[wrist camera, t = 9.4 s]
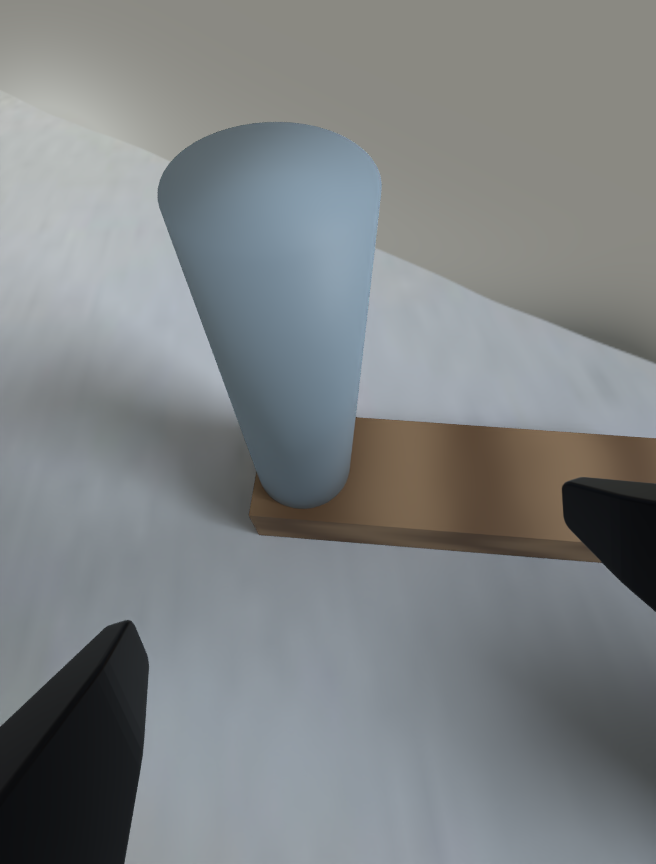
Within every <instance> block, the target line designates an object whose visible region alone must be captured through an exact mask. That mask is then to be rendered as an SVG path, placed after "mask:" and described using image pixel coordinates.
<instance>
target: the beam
mask: <svg viewBox="0 0 656 864" xmlns="http://www.w3.org/2000/svg"><path fill="white" fill-rule="evenodd" d="M579 477H590V478H601V479H612V480H623V481H634V482H645V483H655V484H656V438H642V437H628V436H614V435H600V434H585V433H571V432H557V431H543V430H528V429H514V428H500V427H486V426H471V425H457V424H443V423H428V422H414V421H400V420H386V419H371V418H357V417H356V418H355V427H354V435H353V444H352V453H351V462H350V471H349V475H348V479H347V481H346V483H345V485H344V487H343V488H342V490H341V491H340V492H339V493H338V494H337V495H336V497H334V498H333V499H332V500H330V501H329V502H327V503H325V504H323V505H321V506H318V507H314V508H308V509H297V508H291V507H288V506H285V505H282V504H280V503H278V502H277V501H275V500H274V499H273V498H272V497H270V496H269V495H268V493H267V492H266V491H265V490H264V488H263V486H262V484H261V482H260V480H259V477H258V474H257V471H256V477H255V483H254V488H253V494H252V500H251V506H250V512H249V517H250V519H251V521H252V522H253V524H254V526H255V528H256V530H257V532H258V534H259V535H267V536H279V537H292V538H304V539H316V540H328V541H341V542H353V543H365V544H378V545H390V546H402V547H414V548H427V549H439V550H451V551H463V552H476V553H488V554H500V555H512V556H525V557H537V558H549V559H562V560H574V561H586V562H598V563H602V562H601V561H600V560H599V559H598V558H597V557H596V556H595V555H594V554H593V553H592V552H591V551H590V550H589V549H588V548H587V547H586V546H585V545H584V544H583V543H582V542H581V541H580V539H579V538H578V537H577V536H576V535H575V534H574V533H573V532H572V531H571V530H570V529H569V528H568V527H567V525H566V523H565V521H564V517H563V504H562V486H563V484H564V483H565V482H567V481H570V480H573V479H576V478H579Z"/></svg>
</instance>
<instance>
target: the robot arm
mask: <svg viewBox="0 0 656 864" xmlns="http://www.w3.org/2000/svg"><path fill="white" fill-rule="evenodd" d="M562 504H563V517H564V521H565V523H566V525H567V527H568V528H569V529H570V530H571V531H572V532H573V533H574V534H575V535H576V536H577V537H578V538H579V539H580V541H581V542H582V543H583V544H584V545H585V546H586V547H587V548H588V549H589V550H590V551H591V552H592V553H593V554H594V555H595V556H596V557H597V558H598V559H599V560H600V561H601V562H602V563H603V564H604V565H605V566H606V567H607V568H608V569H609V570H610V571H611V572H612V573H613V574H614V575H615V576H616V577H617V578H618V579H619V580H620V581H621V582H622V583H623V584H624V585H625V586H626V587H628V588H629V589H630V590H631V591H632V592H633V593H634V594H635V595H637V596H638V597H639V598H640V599H641V600H642V601H644V602H645V603H646V604H647V605H648V606H649V607H651V608H652V609H653V610H654V611H655V612H656V484H655V483H645V482H634V481H623V480H612V479H601V478H590V477H579V478H576V479H573V480H570V481H567V482H565V483H564V484H563V486H562ZM148 674H149V662H148V657H147V653H146V651H145V648H144V646H143V644H142V641H141V639H140V637H139V634H138V632H137V630H136V627H135V625H134V624H133V623H132V621H130V620H125V621H122V622H119V623H115V624H112V625H109V626H107V627H106V628H104V629H103V630H102V631H101V632H100V633H99V634H98V635H97V636H96V637H95V638H94V639H93V640H92V641H91V642H89V643H88V644H87V645H86V646H85V647H84V648H83V649H82V650H81V651H80V652H79V653H78V654H77V655H76V656H75V657H74V658H73V659H72V660H70V661H69V662H68V663H67V664H66V665H65V666H64V667H63V668H62V669H61V670H60V671H59V672H58V673H57V674H56V675H55V676H54V677H52V678H51V679H50V680H49V681H48V682H47V683H46V684H45V685H44V686H43V687H42V688H41V689H40V690H39V691H38V692H37V693H36V694H34V695H33V696H32V697H31V698H30V699H29V700H28V701H27V702H26V703H25V704H24V705H23V706H22V707H21V708H20V709H19V710H18V711H16V712H15V713H14V714H13V715H12V716H11V717H10V718H9V719H8V720H7V721H6V722H5V723H4V724H3V725H2V726H1V727H0V864H124V862H125V857H126V851H127V845H128V839H129V833H130V828H131V822H132V816H133V810H134V804H135V799H136V793H137V787H138V781H139V775H140V770H141V763H142V756H143V747H144V735H145V720H146V704H147V689H148Z"/></svg>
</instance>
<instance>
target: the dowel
mask: <svg viewBox="0 0 656 864" xmlns="http://www.w3.org/2000/svg"><path fill="white" fill-rule="evenodd" d="M381 186H382V184H381V178H380V174H379V171H378V168H377V166H376V165H375V163H374V161H373V160H372V158H371V157H370V156H369V155H368V154H367V153H366V152H365V151H364V150H363V149H362V148H361V147H359V146H358V145H357V144H355V143H354V142H352V141H351V140H349V139H347V138H346V137H344V136H342V135H340V134H337V133H334V132H332V131H330V130H326V129H323V128H320V127H316V126H311V125H306V124H299V123H289V122H264V123H253V124H247V125H241V126H236V127H232V128H228V129H225V130H222V131H219V132H216V133H213V134H211V135H209V136H206V137H204V138H202V139H200V140H198V141H196V142H195V143H193V144H192V145H190V146H189V147H187V148H185V149H184V150H183V151H182V152H180V153H179V154H178V155H177V156H176V157H175V158H174V159H173V160H172V161H171V162H170V163H169V165H168V166H167V168H166V169H165V171H164V172H163V175H162V177H161V179H160V182H159V186H158V203H159V208H160V210H161V213H162V216H163V218H164V221H165V224H166V227H167V229H168V232H169V235H170V237H171V240H172V243H173V246H174V248H175V251H176V254H177V257H178V259H179V262H180V265H181V267H182V270H183V273H184V276H185V278H186V281H187V284H188V286H189V289H190V292H191V295H192V297H193V300H194V303H195V305H196V308H197V311H198V314H199V316H200V319H201V322H202V325H203V327H204V330H205V333H206V335H207V338H208V341H209V344H210V346H211V349H212V352H213V354H214V357H215V360H216V363H217V365H218V368H219V371H220V373H221V376H222V379H223V382H224V384H225V387H226V390H227V392H228V395H229V398H230V401H231V403H232V406H233V409H234V412H235V414H236V417H237V420H238V422H239V425H240V428H241V431H242V433H243V436H244V439H245V441H246V444H247V447H248V450H249V452H250V455H251V458H252V460H253V463H254V466H255V469H256V471H257V474H258V477H259V480H260V482H261V484H262V486H263V488H264V490H265V491H266V492H267V493H268V495H269V496H270V497H272V498H273V499H274V500H275V501H277V502H278V503H280V504H282V505H285V506H288V507H291V508H297V509H308V508H314V507H318V506H321V505H323V504H325V503H327V502H329V501H330V500H332V499H333V498H334V497H336V495H337V494H338V493H339V492H340V491H341V490H342V488H343V487H344V485H345V483H346V481H347V479H348V475H349V471H350V462H351V453H352V444H353V435H354V427H355V418H356V409H357V400H358V392H359V383H360V374H361V365H362V356H363V348H364V339H365V330H366V321H367V313H368V304H369V295H370V286H371V277H372V269H373V260H374V251H375V242H376V233H377V225H378V216H379V207H380V198H381Z"/></svg>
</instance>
